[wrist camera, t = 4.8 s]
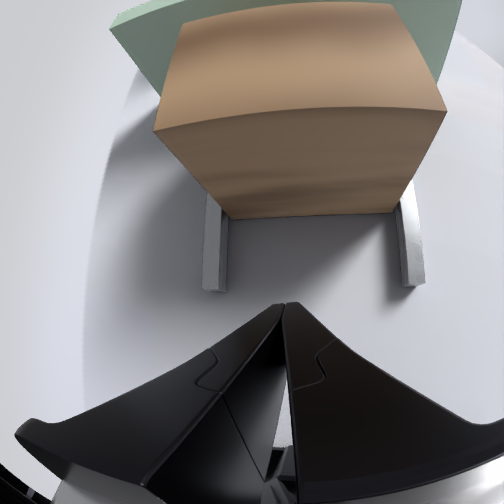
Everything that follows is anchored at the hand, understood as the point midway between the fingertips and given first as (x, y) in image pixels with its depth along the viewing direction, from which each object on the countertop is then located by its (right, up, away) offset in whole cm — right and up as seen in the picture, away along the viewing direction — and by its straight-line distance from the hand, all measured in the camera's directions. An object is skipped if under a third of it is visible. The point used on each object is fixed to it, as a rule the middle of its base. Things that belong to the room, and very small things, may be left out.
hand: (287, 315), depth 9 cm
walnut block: (+3, +8, +9) cm, 12 cm away
